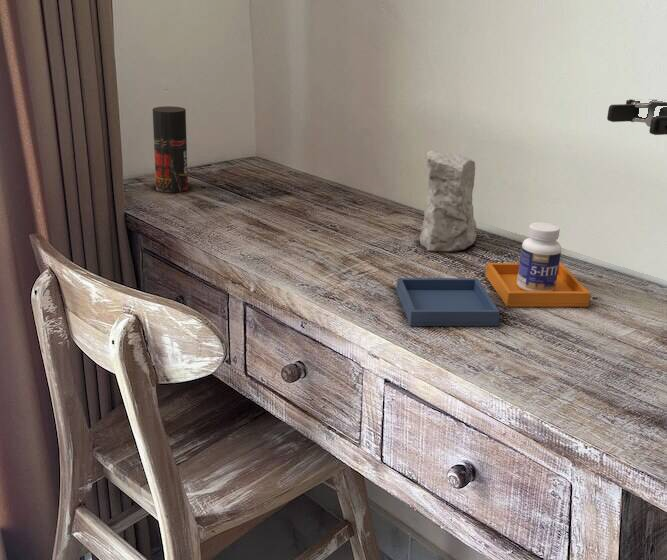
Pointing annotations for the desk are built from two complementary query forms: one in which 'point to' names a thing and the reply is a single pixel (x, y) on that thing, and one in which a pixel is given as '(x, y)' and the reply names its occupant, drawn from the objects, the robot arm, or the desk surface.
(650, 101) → the robot arm
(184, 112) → the deodorant
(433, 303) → the slate-blue tray
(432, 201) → the decorative stone
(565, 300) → the amber tray
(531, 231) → the pill bottle
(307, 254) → the desk surface
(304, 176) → the desk surface
